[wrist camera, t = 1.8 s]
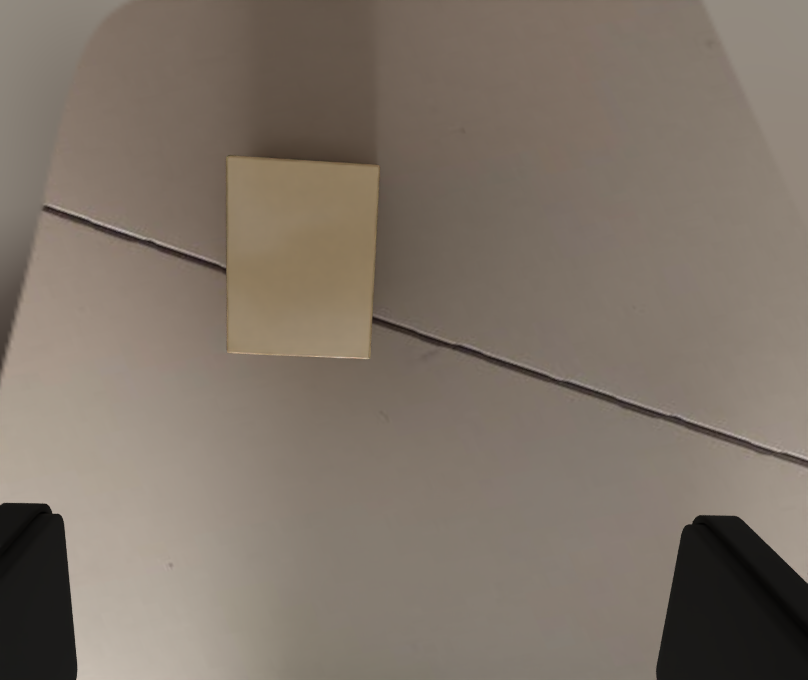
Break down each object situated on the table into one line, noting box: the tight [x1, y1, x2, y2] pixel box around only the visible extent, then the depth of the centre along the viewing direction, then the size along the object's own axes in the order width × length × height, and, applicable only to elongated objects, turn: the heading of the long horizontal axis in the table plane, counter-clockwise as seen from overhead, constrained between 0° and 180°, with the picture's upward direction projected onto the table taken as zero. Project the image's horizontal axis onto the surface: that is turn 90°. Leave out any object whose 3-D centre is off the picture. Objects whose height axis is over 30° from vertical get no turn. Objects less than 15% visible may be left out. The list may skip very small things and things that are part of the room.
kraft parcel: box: [226, 155, 380, 359], centre depth 23 cm, size 4×6×4 cm
